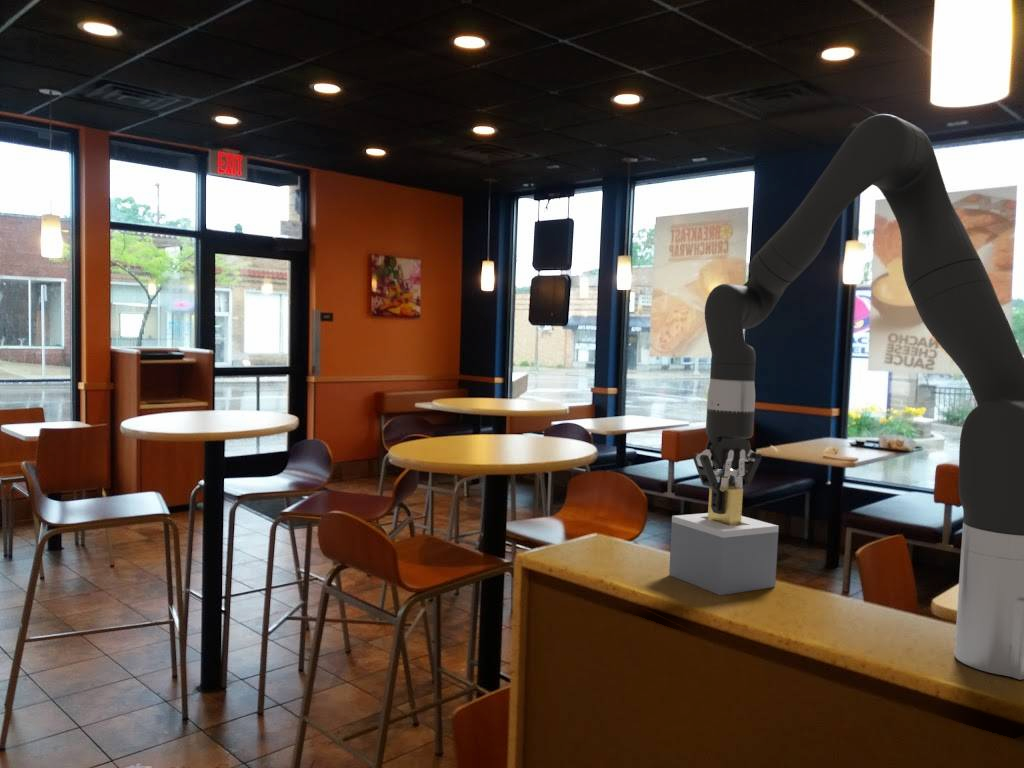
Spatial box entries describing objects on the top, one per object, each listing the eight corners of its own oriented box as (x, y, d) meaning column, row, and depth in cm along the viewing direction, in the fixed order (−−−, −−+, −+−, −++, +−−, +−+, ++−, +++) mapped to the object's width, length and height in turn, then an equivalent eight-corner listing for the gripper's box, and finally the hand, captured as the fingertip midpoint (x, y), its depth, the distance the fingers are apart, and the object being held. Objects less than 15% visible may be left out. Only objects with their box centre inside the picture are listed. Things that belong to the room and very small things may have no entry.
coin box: (775, 586, 132) (778, 525, 132) (720, 595, 127) (723, 531, 126) (722, 568, 143) (725, 511, 142) (669, 575, 137) (672, 515, 137)
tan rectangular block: (740, 525, 133) (743, 488, 132) (729, 526, 132) (731, 489, 131) (718, 518, 137) (720, 483, 137) (707, 519, 136) (709, 484, 136)
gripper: (715, 409, 127) (709, 520, 128) (778, 409, 134) (772, 514, 134) (682, 405, 133) (677, 510, 134) (744, 405, 140) (738, 506, 141)
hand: (724, 512), depth 134 cm, fingers closed on tan rectangular block, 2 cm apart
